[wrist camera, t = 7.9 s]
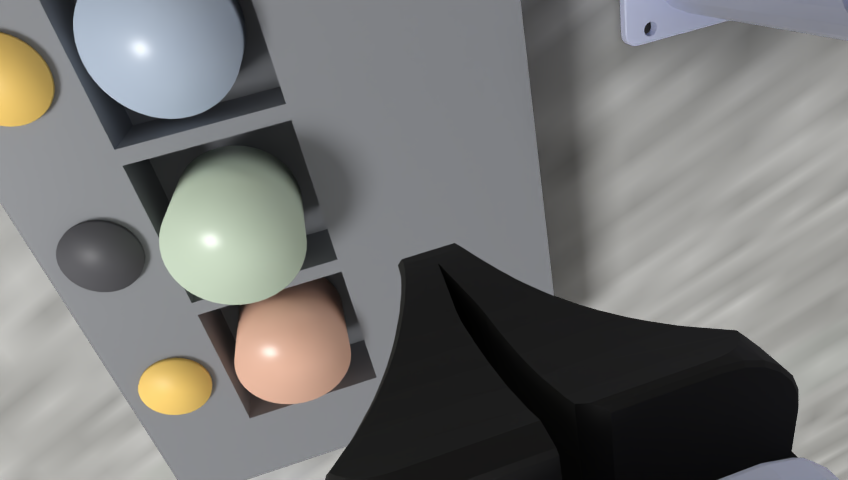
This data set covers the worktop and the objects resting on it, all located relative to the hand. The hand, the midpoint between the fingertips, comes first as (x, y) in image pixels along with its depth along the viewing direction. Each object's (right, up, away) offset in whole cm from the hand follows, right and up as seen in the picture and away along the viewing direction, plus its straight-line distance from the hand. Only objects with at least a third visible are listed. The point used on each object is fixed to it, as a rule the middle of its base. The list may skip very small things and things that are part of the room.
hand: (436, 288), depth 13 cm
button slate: (-8, +7, +5) cm, 12 cm away
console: (-5, +4, +9) cm, 11 cm away
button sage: (-6, +2, +6) cm, 9 cm away
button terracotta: (-6, -2, +10) cm, 12 cm away
